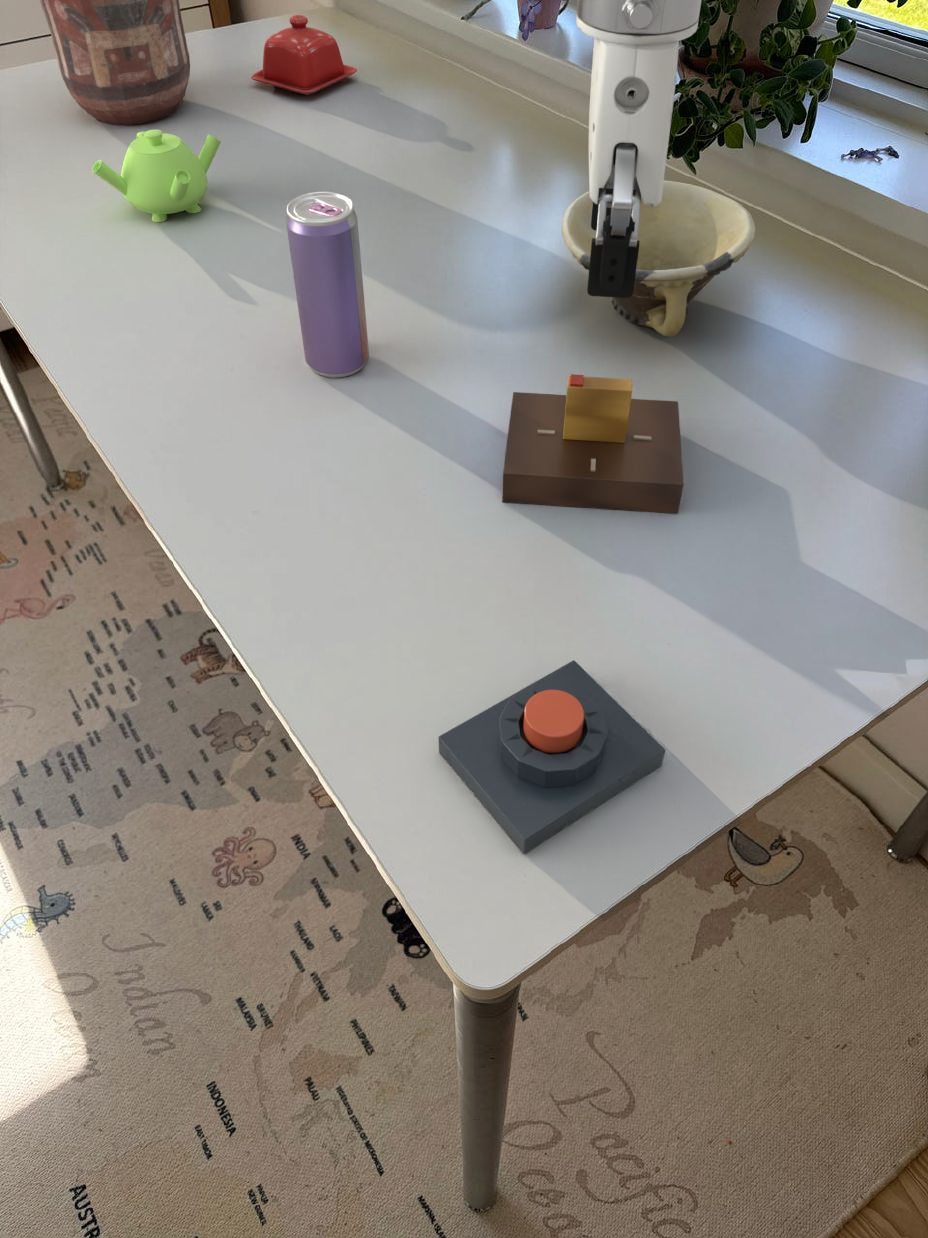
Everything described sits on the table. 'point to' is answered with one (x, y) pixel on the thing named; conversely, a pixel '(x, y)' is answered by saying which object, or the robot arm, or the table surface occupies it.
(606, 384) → the thumbturn
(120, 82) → the pottery
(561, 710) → the release button
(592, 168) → the robot arm
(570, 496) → the plate
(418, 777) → the table surface
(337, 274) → the beverage can
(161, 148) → the teapot
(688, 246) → the bowl
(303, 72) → the butter dish
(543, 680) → the box
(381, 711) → the table surface
